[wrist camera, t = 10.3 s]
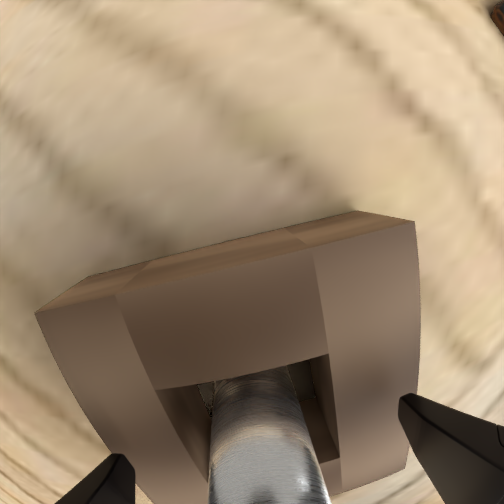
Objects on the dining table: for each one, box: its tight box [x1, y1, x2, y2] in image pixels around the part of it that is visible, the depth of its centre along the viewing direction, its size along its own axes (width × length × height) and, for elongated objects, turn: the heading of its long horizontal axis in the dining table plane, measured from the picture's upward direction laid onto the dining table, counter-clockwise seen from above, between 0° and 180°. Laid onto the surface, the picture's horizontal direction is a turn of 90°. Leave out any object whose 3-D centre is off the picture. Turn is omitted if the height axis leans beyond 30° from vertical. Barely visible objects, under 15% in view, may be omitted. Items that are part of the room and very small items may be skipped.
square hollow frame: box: [35, 211, 421, 504], centre depth 10 cm, size 11×11×4 cm
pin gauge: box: [208, 365, 332, 504], centre depth 8 cm, size 3×3×8 cm
